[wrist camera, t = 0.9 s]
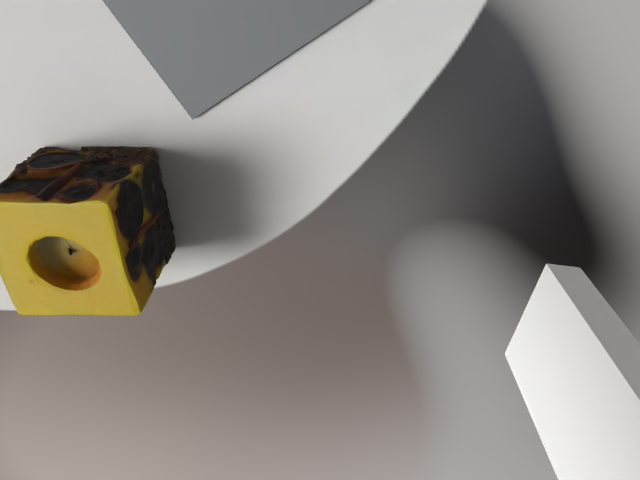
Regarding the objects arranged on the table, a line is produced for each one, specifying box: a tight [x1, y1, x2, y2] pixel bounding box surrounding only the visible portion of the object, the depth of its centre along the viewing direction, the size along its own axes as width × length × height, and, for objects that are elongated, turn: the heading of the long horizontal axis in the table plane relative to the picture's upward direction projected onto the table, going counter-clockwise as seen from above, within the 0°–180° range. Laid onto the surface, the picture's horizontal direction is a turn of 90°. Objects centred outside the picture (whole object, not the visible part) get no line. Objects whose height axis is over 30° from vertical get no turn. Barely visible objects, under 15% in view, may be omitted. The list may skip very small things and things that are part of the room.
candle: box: [0, 147, 175, 316], centre depth 38 cm, size 10×10×10 cm
